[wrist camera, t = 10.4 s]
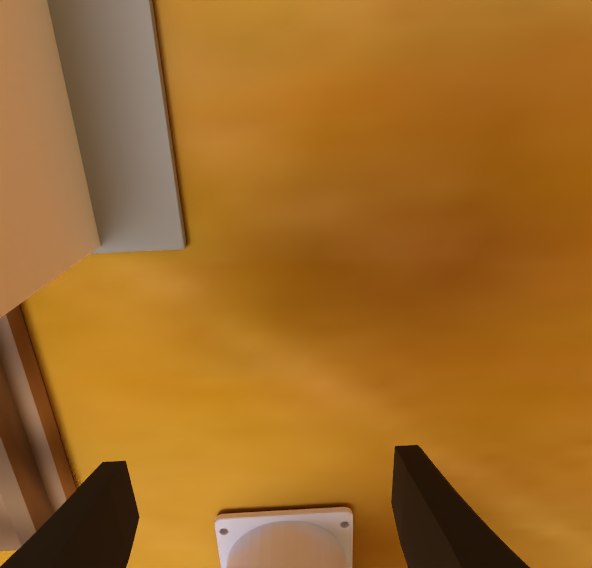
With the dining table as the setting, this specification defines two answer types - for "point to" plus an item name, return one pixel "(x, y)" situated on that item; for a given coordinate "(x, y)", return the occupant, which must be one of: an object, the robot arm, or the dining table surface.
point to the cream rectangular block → (37, 160)
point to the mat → (121, 121)
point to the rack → (27, 441)
